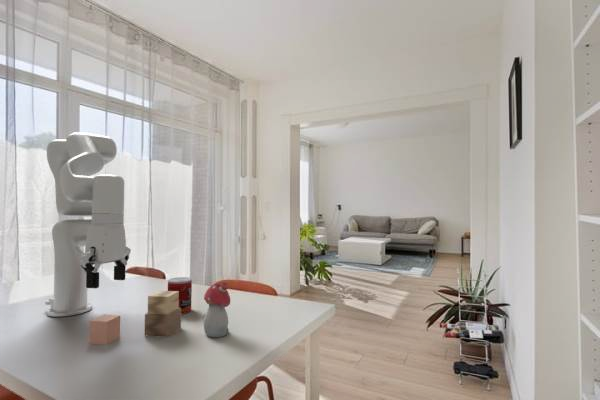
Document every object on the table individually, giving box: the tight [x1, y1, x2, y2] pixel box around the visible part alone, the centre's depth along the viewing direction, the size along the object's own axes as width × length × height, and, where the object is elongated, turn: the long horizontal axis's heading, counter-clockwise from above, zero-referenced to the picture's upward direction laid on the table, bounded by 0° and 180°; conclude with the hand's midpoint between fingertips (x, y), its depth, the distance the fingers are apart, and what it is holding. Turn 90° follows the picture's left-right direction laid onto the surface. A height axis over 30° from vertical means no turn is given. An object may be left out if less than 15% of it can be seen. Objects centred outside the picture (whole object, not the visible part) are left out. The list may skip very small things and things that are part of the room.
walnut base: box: [144, 308, 182, 338], centre depth 92 cm, size 7×7×6 cm
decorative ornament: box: [203, 281, 231, 338], centre depth 90 cm, size 9×7×15 cm
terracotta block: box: [88, 314, 121, 345], centre depth 85 cm, size 5×5×6 cm
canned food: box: [167, 276, 193, 315], centre depth 110 cm, size 8×8×11 cm
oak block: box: [147, 290, 179, 315], centre depth 92 cm, size 6×6×5 cm
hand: (106, 283), depth 86 cm, fingers open, 9 cm apart
